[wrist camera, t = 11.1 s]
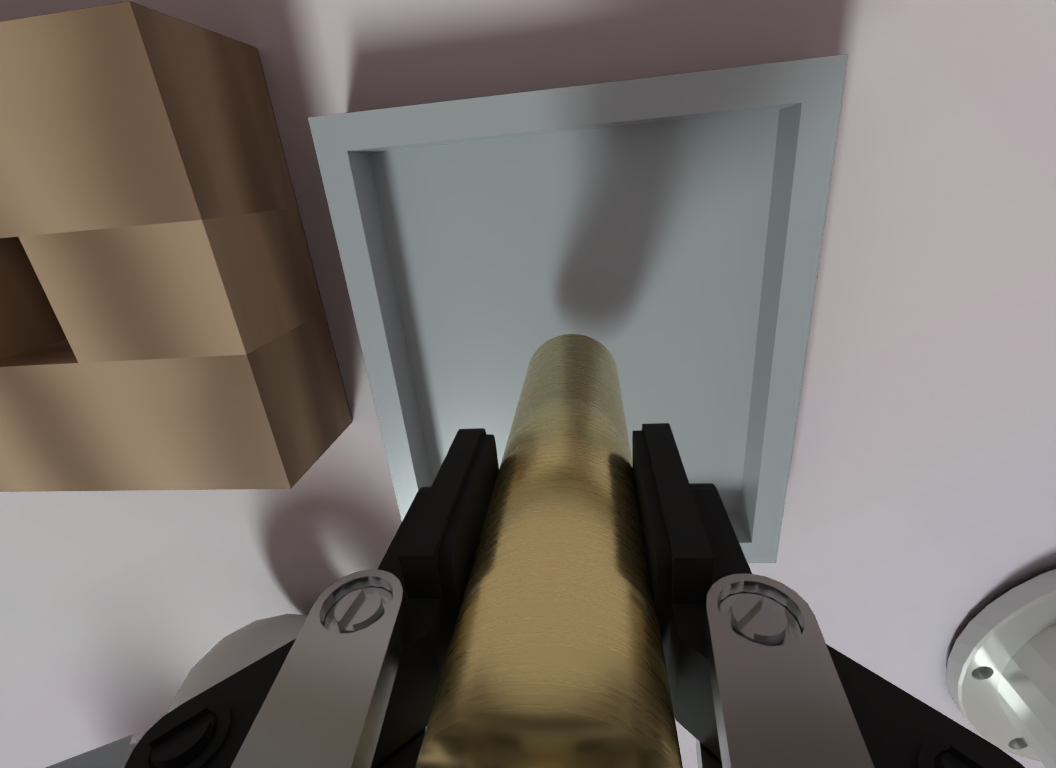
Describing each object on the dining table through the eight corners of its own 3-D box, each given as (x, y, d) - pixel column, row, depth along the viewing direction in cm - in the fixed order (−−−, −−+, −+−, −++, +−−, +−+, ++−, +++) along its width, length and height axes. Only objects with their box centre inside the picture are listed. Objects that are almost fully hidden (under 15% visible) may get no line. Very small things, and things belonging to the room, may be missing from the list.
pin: (617, 331, 16) (694, 718, 5) (618, 416, 17) (682, 881, 6) (523, 336, 16) (391, 702, 5) (531, 418, 17) (437, 859, 6)
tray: (808, 71, 15) (848, 53, 13) (755, 521, 22) (776, 563, 19) (345, 124, 17) (307, 117, 15) (427, 521, 24) (410, 559, 21)
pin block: (256, 47, 16) (129, 1, 12) (352, 421, 22) (290, 488, 17) (-135, 102, 18) (-371, 81, 14) (41, 430, 24) (-86, 492, 19)
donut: (427, 659, 28) (350, 901, 19) (396, 688, 29) (309, 927, 20) (272, 565, 26) (102, 779, 17) (246, 599, 27) (76, 816, 18)
